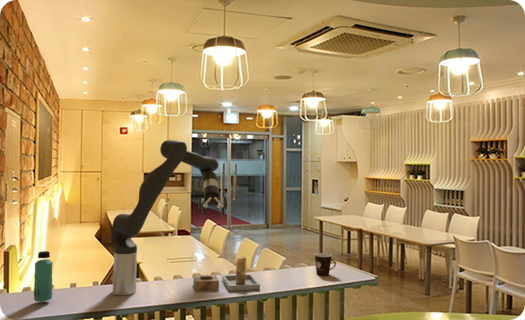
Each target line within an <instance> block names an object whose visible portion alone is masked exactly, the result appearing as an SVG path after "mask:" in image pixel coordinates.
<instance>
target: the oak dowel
mask: <svg viewBox="0 0 525 320" xmlns="http://www.w3.org/2000/svg"><path fill="white" fill-rule="evenodd" d="M235 266H236V267H235V268H236V269H235V275H236V285H245V278H246V274H247V272H246V269H247V257H245V256H237V257H236V264H235Z"/></svg>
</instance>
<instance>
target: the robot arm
mask: <svg viewBox="0 0 525 320" xmlns="http://www.w3.org/2000/svg"><path fill="white" fill-rule="evenodd" d="M159 151H160V154H161V156H162V157H163V158H165V161H164V162H163V163H162V164H160V165H159V166H157V167H155V168H154V169H152V170H151V171H150V172H149V173H148V174H147V175H146V177H145V178H144V180H143V181H142V182H141V184H140V187H139V191H138V200H137V201H138V202H137V204H136V206H135V207H134V209H133V211H132V212H131V213H130V214H128V213H119V214H117V215H116V216H115V217H114V219H113V222H112V225H111V227H112V228H111V231H112V232H111V235H112V236H111V238H112V239H111V240H112V247H113V251H114V252H113V253H114V254H113V272H112V295H113V296H129V295H134V294H135V293H136V291H137V290H136V289H137V262H138V261H137V259H138V255H137V254H138V246H137V244H136V243H135V242H134V241H133V239H132V238H133V237H134V238H135V237H136V236H137V235H138V234H140V232H141V231H142V228H143V226H144V224H145V222H146V220H147V217H148V216H149V214H150V212H151V210H152V208H153V206H154V204H155V203H156V201H157V199H158V197H159V196H160V195H161V193H162V191H163V190H164V188H165V186H166V185H167V183H168V180H170V178H171V176H172V174H174V172H175V170H176V169H177V168H178V167H179V165H180V164H181V163H183V164H187V165H189V166H190V167H193V168H195V169H198V170H199V172H200V175H201V177H202V180H203V196H204V197H201V196H199V197H198V200H197V201H198V206H197V207H198V210H202V212H201V213H202V215H203V216H204V217H205V216H207V208H208V207H217V208H219V209H220V215H221V217H223V216H224V215H225V210H227V209H228V201H227V197H226V196H224V197H220V190H219V183H218V177H217V174H216V173H215V172H214V171H216V170H218V168H219V162H218V160H217V159H215V158H214V157H211V156H206V155H205V156H202V155H201V154H199V153H197V152H193V151H189V150H188V147H187V144H186V143H185V141H182V140H176V139H167V140H164V141H163V142H162V143H161V145H160V150H159ZM203 202H204V203H203ZM202 203H203V205H202Z"/></svg>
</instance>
